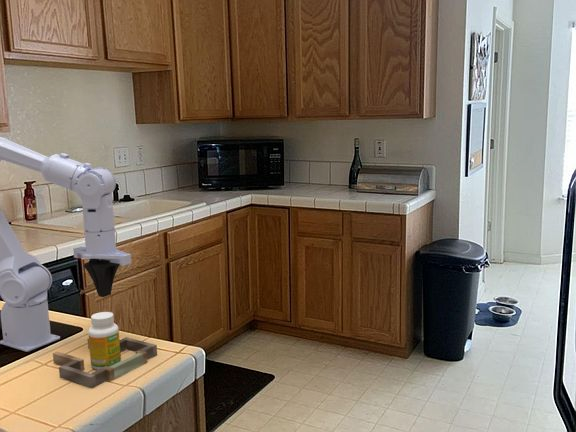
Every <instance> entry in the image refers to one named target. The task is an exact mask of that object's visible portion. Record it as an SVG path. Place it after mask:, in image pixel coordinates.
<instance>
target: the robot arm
mask: <svg viewBox="0 0 576 432" xmlns="http://www.w3.org/2000/svg"><path fill="white" fill-rule="evenodd" d="M1 161H5V162H8V163H12V164H15V165H17V166H20V167H24V168H26V169H29V170H33V171H36V172H39V173H41V175H42V177H43V179H44V180H45V181H46V182H48V183H50V184H53V185H56V186H59V187H62V188H63V189H64V188H65V189H67V190H70V191H73V192H75V193H76V194H77V196H78V197H79V198H80V201H81V206H82V207H81V208H82V216H83V217H82V219H83V229H84V243H85V245H84V246H79V247H75V248H73V258H74V259H79V258H82V259H84V260H88V262H86V263H84V265H83V267H84V269H85V270H86V271H87V273H88V274H89V276H90V278H91V280H92V282H93V285H94V287H95V290H96V293H97V295H98V297H101V298H106V297H108V296H110V295H112V290H113V284H114V280H115V277H116V273H117V271H118V269H119V267H120V266H123V267H124V266H127V265H131V264H132V254H131V253H127V252H125V251H122V250H119V249H118V248H117V243H116V230H115V229H116V228H115V215H114V203H113V194H112V193H113V192H115V189H116V185H117V182H116V177H115V175H114V174H113V172H111V170H109V169H107V168H106V167H104V166H103V167H102V166H100V167H99V166H98V167H95V168H93V167H92V163H90V162H85V163H83V162H80V161H77V160H75V159H72V158H70V154H67V153H65V152H61V153H59V154H58V153H55V154H52V155H50V156H46V155H44V154H42V153H40V152H37V151H35V150H32V149H30V148H28V147H26V146H23V145H21V144H19V143H16V142H14V141H12V140H9V139H8V138H6V137H2V136H0V162H1ZM52 283H53V277H52V273H51V272H50V271H49V269H48V268H47V267H45V266H44V265H43V264H42V263H41V262H40V261H39V259H38V258H37V257H36V256H35V255H32V254H31V253H28V252H26V251H25V249H24V247H23V246H22V244H21V242H20V241H19V238H18V237H17V235H16V233H15V232H14V230H13V227H11V225H10V224H9V222H8V219H7V217H6V216H5V215H4V212H3V211H2V209H1V208H0V297H1V299H2V300H3V302H4V303H3V305H2V307H1V309H0V322H1V330H2V338H3V339H1V340H0V345H4V346H5V347H10V348H13V349H16V350H18V351H19V350H20V351H23V352H31V351H33V350H36V349H38V348H40V347H43V346H45V345H48V344H50V343H52V342H56V341H58V340H60V339H61V336H60V335H56V334H54V333H51V324H50V314H49V304H48V303H49V302H48V290H49V289H50V288H51V287H52Z"/></svg>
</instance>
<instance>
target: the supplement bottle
mask: <svg viewBox="0 0 576 432" xmlns="http://www.w3.org/2000/svg"><path fill="white" fill-rule="evenodd" d="M90 321H91V326H90V327H89V328H88V331H87V332H88V335H87V336H88V338H89V347H90V349H89V355H90V356H89V357H90V365H91V368H92V369H94V370H95V371H97V370H99V369H101V368H103V367H105V366H108V367H110V366H112V365H114V364H116V363H118V362H120V361H122V355H121V353H120V340H121V339H120V331H119V329H120V328H119V326H118V325H117V324H116V323H115V316H114V313H113V312H111V311H100V312H97V313H93V314H92V315H91V316H90Z"/></svg>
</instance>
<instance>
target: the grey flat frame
mask: <svg viewBox="0 0 576 432" xmlns="http://www.w3.org/2000/svg"><path fill="white" fill-rule="evenodd" d="M86 340H87V348H88V349H89V350H90V347H89V337H88V338H87V339H86ZM119 340H120V354H121V353H122V352H124V351H132V352H134V353H135V354H133V355H131V356H129V357H126V358H125V359H122V360H121V361H120V362H118V363H116V364H114V365H112V366H110V367H108V366H105V367H103V368H101V369H99V370H95V371H93V372H91V373H90V372H87V371H84V370H86V369H85V359H84V358H80V357H77V356H74V355H70V354H67V353H64V352H61V351H55V352H52V358H53V361H52V362H53V364H54V365H59V366H58V371H59V372H58V374H59V379H63V380H65V381H68V382H70V383H71V382H72V383H74V384H77V385H81V386H84V387H86V388H89V389H93V388H95V387H97V386H99V385H101V384H102V383H103V384H104V383H105V382H106V381H109V382H111V381H113V380H116V379H118V378H119V377H122V376H123V375H125V374H127V373H129V372H131V371H134V370H135V369H137V368H139V367H141V366H143V365H144V364H146V363H148V360H149V359H152V358H154V357H155V356H157V355H158V346H157V344H153V343H150V342H147V341H142V340H138V339H134V338H130V337H128V336H127V337H123V338H121V339H119Z"/></svg>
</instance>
